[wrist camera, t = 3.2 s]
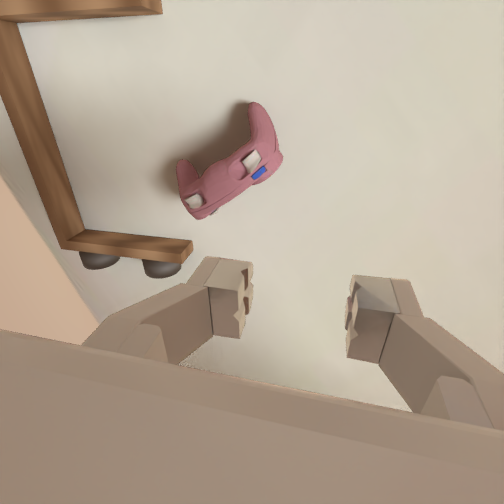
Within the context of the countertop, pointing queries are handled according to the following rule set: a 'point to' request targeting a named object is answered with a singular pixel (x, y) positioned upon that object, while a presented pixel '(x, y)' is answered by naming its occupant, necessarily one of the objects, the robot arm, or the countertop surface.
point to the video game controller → (231, 169)
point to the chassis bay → (45, 147)
